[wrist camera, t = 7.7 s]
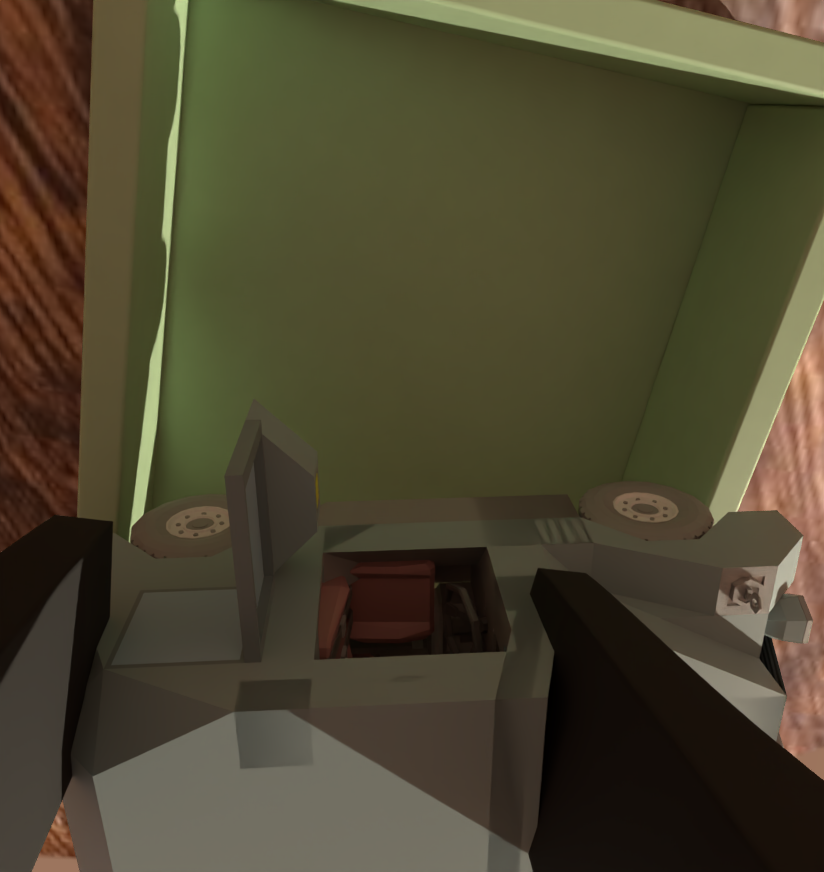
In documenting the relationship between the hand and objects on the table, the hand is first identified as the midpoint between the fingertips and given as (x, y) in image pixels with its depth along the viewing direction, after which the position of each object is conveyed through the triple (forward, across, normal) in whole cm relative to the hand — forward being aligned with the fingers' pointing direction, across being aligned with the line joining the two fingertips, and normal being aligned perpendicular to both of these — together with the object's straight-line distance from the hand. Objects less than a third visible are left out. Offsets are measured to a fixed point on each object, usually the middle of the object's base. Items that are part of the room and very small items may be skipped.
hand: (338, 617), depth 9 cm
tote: (+6, -1, 0) cm, 6 cm away
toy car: (+3, -2, +1) cm, 4 cm away
